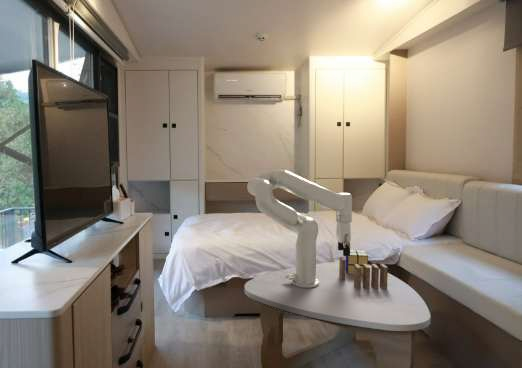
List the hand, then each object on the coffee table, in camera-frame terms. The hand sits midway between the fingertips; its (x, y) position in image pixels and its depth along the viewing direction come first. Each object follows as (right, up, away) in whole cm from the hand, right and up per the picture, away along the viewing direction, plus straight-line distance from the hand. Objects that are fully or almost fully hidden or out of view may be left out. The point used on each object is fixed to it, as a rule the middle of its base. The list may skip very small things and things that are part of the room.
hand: (343, 252), depth 170 cm
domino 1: (-1, -13, +1) cm, 13 cm away
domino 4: (+12, -14, -10) cm, 21 cm away
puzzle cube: (+9, -12, +11) cm, 19 cm away
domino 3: (+8, -14, -10) cm, 19 cm away
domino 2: (+4, -14, -10) cm, 18 cm away
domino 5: (+16, -14, -10) cm, 23 cm away
